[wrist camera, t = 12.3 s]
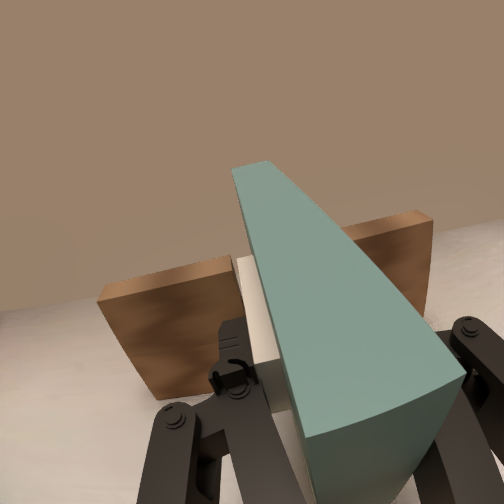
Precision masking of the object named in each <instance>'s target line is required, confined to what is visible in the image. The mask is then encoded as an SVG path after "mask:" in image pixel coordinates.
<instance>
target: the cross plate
mask: <svg viewBox="0 0 504 504" xmlns="http://www.w3.org/2000/svg"><path fill="white" fill-rule="evenodd" d="M231 171H232V175H233V179H234V183H235V187H236V191H237V195H238V199H239V203H240V208H241V211H242V216H243V220H244V224H245V228H246V232H247V237H248V241H249V245H250V249H251V253H252V255H253V257H254V261H255V264H256V268H257V272H258V276H259V279H260V283H261V287H262V291H263V295H264V298H265V302H266V306H267V310H268V313H269V317H270V321H271V325H272V329H273V332H274V336H275V340H276V344H277V347H278V351H279V355H280V359H281V363H282V367H283V372H284V376H285V380H286V385H287V389H288V393H289V397H290V402H291V406H292V409H291V411H292V415H293V419H294V423H295V427H296V431H297V435H298V439H299V442H300V446H301V450H302V454H303V458H304V462H305V466H306V470H307V474H308V477H309V481H310V485H311V489H312V493H313V497H314V501H315V504H391V502H392V501H393V500H394V499H395V497H396V496H397V495H398V493H399V492H400V491H401V489H402V488H403V486H404V485H405V484H406V482H407V481H408V479H409V478H410V477H411V475H412V474H413V472H414V471H415V469H416V468H417V466H418V465H419V463H420V462H421V460H422V458H423V457H424V455H425V454H426V452H427V450H428V449H429V447H430V445H431V444H432V442H433V440H434V438H435V437H436V435H437V433H438V431H439V430H440V428H441V426H442V424H443V422H444V420H445V418H446V416H447V415H448V413H449V411H450V409H451V407H452V405H453V402H454V400H455V398H456V396H457V394H458V392H459V390H460V387H461V385H462V383H463V381H464V378H465V376H466V374H467V373H466V371H465V370H464V369H463V367H462V366H461V365H460V363H459V362H458V361H457V359H456V358H455V357H454V356H453V354H452V353H451V352H450V351H449V349H448V348H447V347H446V346H445V344H444V343H443V342H442V341H441V339H440V338H439V337H438V336H437V334H436V333H435V332H434V331H433V330H432V328H431V327H430V326H429V325H428V324H427V322H426V321H425V320H424V319H423V318H422V316H421V315H420V314H419V313H418V312H417V311H416V309H415V308H414V307H413V306H412V305H411V304H410V302H409V301H408V300H407V299H406V298H405V297H404V296H403V295H402V293H401V292H400V291H399V290H398V289H397V288H396V287H395V286H394V284H393V283H392V282H391V281H390V280H389V279H388V278H387V277H386V276H385V275H384V273H383V272H382V271H381V270H380V269H379V268H378V267H377V266H376V265H375V264H374V263H373V262H372V261H371V259H370V258H369V257H368V256H367V255H366V254H365V253H364V252H363V251H362V250H361V249H360V248H359V247H358V246H357V245H356V244H355V243H354V242H353V241H352V240H351V239H350V238H349V237H348V236H347V235H346V234H345V232H344V231H343V230H342V229H341V228H340V227H338V226H337V224H335V223H334V222H333V220H332V219H331V218H330V217H328V216H327V215H326V214H325V213H324V212H323V211H322V210H321V209H320V208H319V207H318V206H317V205H316V204H315V203H314V202H313V201H312V200H311V199H310V198H309V197H308V196H307V195H306V194H305V193H304V192H302V191H301V190H300V189H299V188H298V187H297V186H296V185H295V184H294V183H293V182H292V181H291V180H290V179H288V178H287V177H286V176H285V175H284V174H283V173H282V172H281V171H280V170H279V169H278V168H277V167H275V166H274V165H273V164H272V163H271V162H270V161H268V160H267V161H263V162H259V163H254V164H249V165H245V166H241V167H237V168H233V169H231Z"/></svg>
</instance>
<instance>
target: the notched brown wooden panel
mask: <svg viewBox="0 0 504 504" xmlns="http://www.w3.org/2000/svg"><path fill="white" fill-rule="evenodd" d="M341 229H342V230H343V231H344V232H345V234H346V235H347V236H348V237H349V238H350V239H351V240H352V241H353V242H354V243H355V244H356V245H357V246H358V247H359V248H360V249H361V250H362V251H363V252H364V253H365V254H366V255H367V256H368V257H369V258H370V259H371V261H372V262H373V263H374V264H375V265H376V266H377V267H378V268H379V269H380V270H381V271H382V272H383V273H384V275H385V276H386V277H387V278H388V279H389V280H390V281H391V282H392V283H393V284H394V286H395V287H396V288H397V289H398V290H399V291H400V292H401V293H402V295H403V296H404V297H405V298H406V299H407V300H408V301H409V302H410V304H411V305H412V306H413V307H414V308H415V309H416V311H417V312H418V313H419V314H420V315H421V316H422V318H423V316H424V310H425V303H426V296H427V289H428V281H429V272H430V262H431V251H432V236H433V219H431V218H430V217H428V216H426V215H425V214H423V213H421V212H420V211H418V210H414V211H410V212H406V213H402V214H398V215H393V216H389V217H385V218H381V219H376V220H372V221H368V222H364V223H360V224H355V225H351V226H347V227H343V228H341ZM97 304H98V306H99V308H100V309H101V311H102V313H103V315H104V317H105V319H106V320H107V322H108V324H109V326H110V327H111V329H112V331H113V333H114V334H115V336H116V338H117V340H118V341H119V343H120V345H121V346H122V348H123V349H124V351H125V353H126V354H127V356H128V358H129V359H130V361H131V362H132V364H133V365H134V367H135V369H136V370H137V372H138V373H139V375H140V376H141V378H142V379H143V381H144V382H145V384H146V385H147V387H148V388H149V389H150V391H151V392H152V394H153V395H154V397H155V398H156V399H157V400H162V399H170V398H178V397H185V396H192V395H198V394H204V393H210V392H214V390H213V388H212V386H211V384H210V382H209V380H208V373H209V371H210V369H211V367H212V366H213V365H214V364H215V363H216V362H217V361H219V341H218V330H219V328H220V326H221V324H222V322H223V321H226V320H231V319H235V318H239V317H243V316H246V312H245V306H244V303H243V299H242V296H241V292H240V288H239V285H238V281H237V278H236V274H235V271H234V267H233V263H232V260H231V256H230V255H227V256H222V257H218V258H214V259H210V260H206V261H202V262H198V263H194V264H190V265H185V266H182V267H177V268H173V269H169V270H165V271H161V272H156V273H153V274H148V275H144V276H140V277H137V278H132V279H128V280H124V281H120V282H116V283H111V284H107V285H105V286H104V288H103V290H102V292H101V294H100V296H99V298H98V300H97Z"/></svg>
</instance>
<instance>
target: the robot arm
mask: <svg viewBox="0 0 504 504" xmlns="http://www.w3.org/2000/svg"><path fill="white" fill-rule="evenodd" d="M237 262H238V268H239V274H240V281H241V287H242V293H243V299H244V305H245V312H246V316H243V317H239V318H235V319H231V320H226V321H223V322H222V324H221V326H220V328H219V330H218V341H219V361H217V362H216V363H215V364H214V365H213V366H212V367H211V369H210V371H209V373H208V380H209V382H210V384H211V386H212V388H213V390H214V392H215V393H214V394H213V395H212V396H211V397H210V398H208V399H207V400H205V401H203V402H201V403H198V404H196V405H194V406H192V407H191V406H190V405H188V404H186V403H183V402H175V403H170V404H168V405H166V406H164V407H163V408H162V409H161V410H160V411H159V412H158V413H157V415H156V417H155V419H154V423H153V428H152V432H151V436H150V441H149V445H148V450H147V454H146V459H145V463H144V468H143V473H142V478H141V483H140V488H139V493H138V498H137V503H136V504H219V499H220V481H221V464H222V457H223V456H225V455H227V454H229V453H230V455H231V459H232V463H233V467H234V471H235V474H236V478H237V482H238V486H239V489H240V493H241V496H242V500H243V503H244V504H307V503H306V501H305V499H304V496H303V494H302V491H301V489H300V486H299V484H298V482H297V479H296V477H295V474H294V472H293V469H292V467H291V464H290V462H289V459H288V457H287V454H286V452H285V449H284V446H283V444H282V441H281V439H280V436H279V434H278V431H277V428H276V426H275V423H274V420H273V418H272V415H271V414H272V413H276V412H280V411H285V410H289V409H292V406H291V402H290V397H289V393H288V389H287V385H286V380H285V376H284V372H283V367H282V363H281V359H280V355H279V351H278V347H277V344H276V340H275V336H274V332H273V329H272V325H271V321H270V317H269V313H268V310H267V306H266V302H265V298H264V295H263V291H262V287H261V283H260V279H259V276H258V272H257V268H256V264H255V261H254V257H253V255H250V256H246V257H242V258H238V259H237ZM435 333H436V334H437V336H438V337H439V338H440V339H441V341H442V342H443V343H444V344H445V346H446V347H447V348H448V349H449V351H450V352H451V353H452V354H453V356H454V357H455V358H456V359H457V361H458V362H459V363H460V365H461V366H462V367H463V369H464V370H465V371H466V373H467V374H466V376H465V378H464V381H463V383H462V385H461V387H460V390H459V392H458V394H457V396H456V398H455V400H454V402H453V405H452V407H451V409H450V411H449V413H448V415H447V416H446V418H445V420H444V422H443V424H442V426H441V428H440V430H439V431H438V433H437V435H436V437H435V438H434V440H433V442H432V444H431V445H430V447H429V449H428V450H427V452H426V454H425V455H424V457H423V458H422V460H421V462H420V463H419V465H418V466H417V468H416V469H415V471H414V472H413V476H414V480H415V483H416V487H417V491H418V495H419V499H420V502H421V504H504V483H503V480H502V477H501V474H500V472H499V469H498V466H497V464H496V461H495V459H494V456H493V454H492V452H491V450H492V451H493V452H494V454H495V455H496V456H497V458H498V459H499V460H500V462H501V463H502V464H503V466H504V340H503V339H502V338H501V337H500V336H499V335H497V334H496V333H495V332H494V331H493V330H492V329H491V328H489V327H488V326H487V325H486V324H485V323H484V322H482V321H481V320H479V319H477V318H475V317H471V316H465V317H461V318H459V319H457V320H456V321H455V322H454V324H453V327H452V330H446V331H438V332H435Z"/></svg>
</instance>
